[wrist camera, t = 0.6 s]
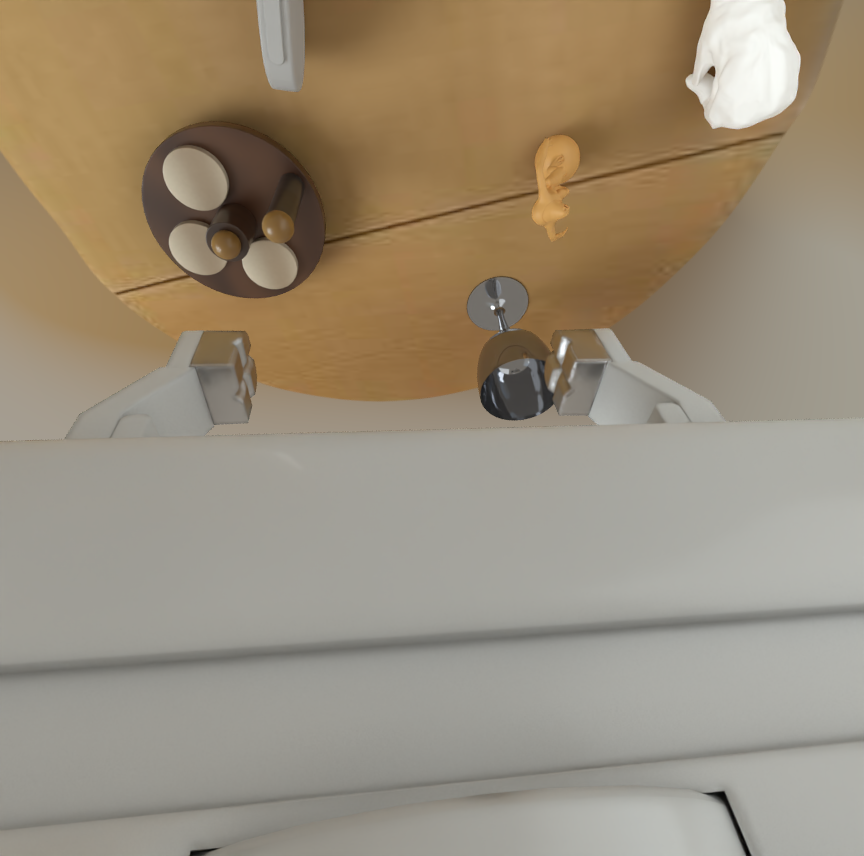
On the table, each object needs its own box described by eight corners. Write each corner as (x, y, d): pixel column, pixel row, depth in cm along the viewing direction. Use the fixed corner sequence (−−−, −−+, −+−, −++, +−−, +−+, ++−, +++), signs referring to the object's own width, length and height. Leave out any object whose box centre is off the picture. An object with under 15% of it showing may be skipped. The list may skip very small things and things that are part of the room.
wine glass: (461, 333, 61) (476, 421, 51) (465, 273, 56) (483, 359, 45) (526, 332, 62) (554, 419, 51) (537, 272, 56) (571, 357, 46)
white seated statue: (728, 147, 39) (722, -47, 32) (684, 124, 46) (671, -42, 39) (818, 109, 38) (832, -104, 31) (759, 91, 44) (760, -88, 37)
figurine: (579, 187, 50) (618, 245, 41) (520, 210, 51) (545, 270, 43) (566, 95, 44) (607, 140, 36) (499, 123, 45) (524, 173, 37)
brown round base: (237, 316, 55) (214, 379, 48) (105, 185, 45) (50, 240, 38) (358, 245, 50) (354, 303, 43) (241, 79, 40) (209, 119, 33)
